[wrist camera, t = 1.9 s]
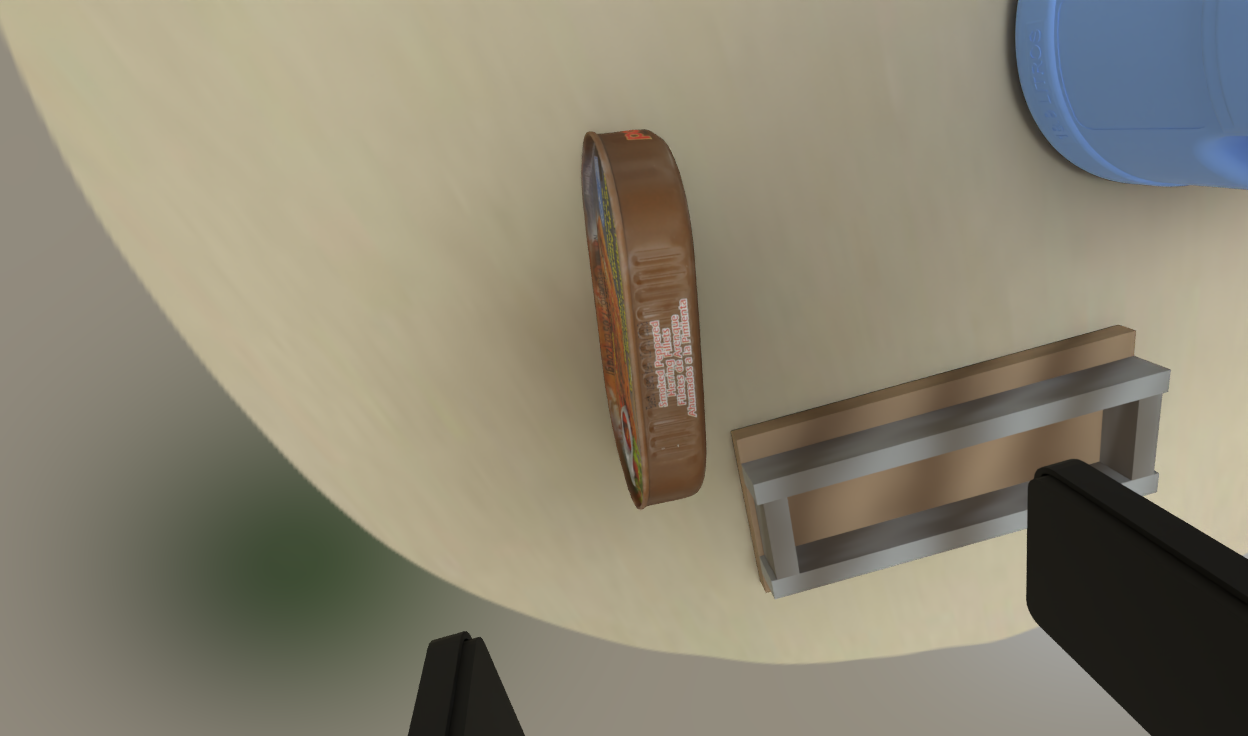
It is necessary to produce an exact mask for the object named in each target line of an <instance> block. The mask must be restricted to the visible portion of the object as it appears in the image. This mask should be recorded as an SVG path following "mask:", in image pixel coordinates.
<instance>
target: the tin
mask: <svg viewBox="0 0 1248 736" xmlns="http://www.w3.org/2000/svg"><path fill="white" fill-rule="evenodd" d="M581 175H582V195H583V207H584V214H585V225H586V235H587V243H588V251H589V259H590V267H591V275H592V283H593V290H594V299H595V307H596V315H597V323H598V331H599V340H600V348H601V356H602V364H603V372H604V380H605V388H606V393H607V398H608V405H609V411H610V417H611V422H612V427H613V432H614V437H615V441H616V445H617V450H618V453H619V458H620V461H621V465H622V469H623V472H624V475H625V479H626V483H627V486H628V490H629V492H630V495H631V498H632V500H633V502H634V503H635V506H636V507H637V509H644V508H645V507H646V506H649V505H654V504H659V503H664V502H669V501H674V500H678V499H682V498H686V497H689V496H692V495H694V494H696V493H697V492H698V491H699V489H700V488H701V486H702V483H703V480H704V476H705V468H706V431H705V410H704V391H703V374H702V358H701V345H700V327H699V312H698V298H697V286H696V271H695V258H694V246H693V237H692V229H691V223H690V216H689V211H688V205H687V200H686V195H685V191H684V187H683V184H682V180H681V176H680V172H679V170H678V167H677V164H676V162H675V159H674V157H673V155H672V153H671V150H670V149H669V147H668V145H667V144H666V143H665V141H664V140H663V139H662V138H660V137H659V136H657V135H656V134H654V133H653V132H651V131H649V130H645V129H644V130H629V131H621V132H614V133H605V134H596V133H595V132H588V133H586V135H585V137H584V142H583V153H582V171H581Z"/></svg>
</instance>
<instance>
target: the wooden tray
mask: <svg viewBox="0 0 1248 736" xmlns="http://www.w3.org/2000/svg"><path fill="white" fill-rule="evenodd" d="M1135 336H1136V331H1135V330H1132V329H1129V328H1126V327H1123V326H1120V325H1117V326H1113V327H1109V328H1106V329H1102V330H1098V331H1095V332H1091V333H1087V334H1084V335H1080V336H1077V337H1073V338H1069V339H1066V340H1062V341H1058V342H1055V343H1051V344H1047V345H1044V346H1040V347H1036V348H1033V349H1029V350H1025V351H1022V352H1018V353H1014V354H1011V355H1007V356H1004V357H1000V358H996V359H993V360H989V361H985V362H982V363H978V364H974V365H971V366H967V367H963V368H960V369H956V370H952V371H949V372H945V373H941V374H938V375H934V376H931V377H927V378H923V379H920V380H916V381H912V382H909V383H905V384H901V385H898V386H894V387H890V388H887V389H883V390H879V391H876V392H872V393H869V394H865V395H861V396H858V397H854V398H850V399H847V400H843V401H839V402H836V403H832V404H828V405H825V406H821V407H817V408H814V409H810V410H806V411H803V412H799V413H796V414H792V415H788V416H785V417H781V418H777V419H774V420H770V421H766V422H763V423H759V424H755V425H752V426H748V427H744V428H741V429H737V430H733V431H731V434H732V439H733V444H734V450H735V455H736V460H737V465H738V470H739V475H740V480H741V485H742V490H743V495H744V500H745V506H746V511H747V516H748V521H749V526H750V531H751V536H752V541H753V546H754V551H755V556H756V562H757V567H758V572H759V577H760V581H761V583H762V585H763V587H764V590H765V592H766V593H767V592H772V594H773V596H774V598H775V599H778V598H781V597H785V596H788V595H792V594H795V593H799V592H803V591H806V590H810V589H813V588H817V587H820V586H824V585H828V584H831V583H835V582H838V581H842V580H845V579H849V578H852V577H856V576H860V575H863V574H867V573H870V572H874V571H877V570H881V569H884V568H888V567H892V566H895V565H899V564H902V563H906V562H909V561H913V560H917V559H920V558H924V557H927V556H931V555H934V554H938V553H941V552H945V551H949V550H952V549H956V548H959V547H963V546H966V545H970V544H974V543H977V542H981V541H984V540H988V539H991V538H995V537H998V536H1002V535H1006V534H1009V533H1013V532H1016V531H1020V530H1023V529H1027V500H1028V483H1029V482H1030V480H1033V479H1034V474H1035V472H1036V471H1037V469H1039V468H1041V467H1044V466H1048V465H1051V464H1055V463H1058V462H1062V461H1065V460H1069V459H1079V460H1081V461H1084V462H1086V463H1087V464H1089V465H1091V466H1092V467H1094V468H1096V469H1097V470H1099V471H1101V472H1102V473H1104V474H1106V475H1107V476H1109V477H1111V478H1112V479H1114V480H1116V481H1117V482H1119V483H1121V484H1122V485H1124V486H1126V487H1127V488H1129V489H1131V490H1133V491H1134V492H1136V493H1138V494H1139V495H1141V496H1145V495H1148V494H1152V493H1155V492H1157V487H1158V478H1159V473H1158V472H1156V471H1154V466H1155V457H1156V448H1157V439H1158V430H1159V420H1160V411H1161V402H1162V393H1165V392H1168V389H1169V380H1170V372H1171V370H1170V369H1168V368H1165V367H1162V366H1160V365H1157V364H1154V363H1152V362H1149V361H1146V360H1144V359H1141V358H1138V357H1136V356H1134V348H1135Z"/></svg>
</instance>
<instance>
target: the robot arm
mask: <svg viewBox="0 0 1248 736" xmlns="http://www.w3.org/2000/svg"><path fill="white" fill-rule="evenodd" d="M1026 601H1027V606H1028V609H1029V612H1030V614H1031V616H1032V617H1033V619H1034V620H1035V622H1036V623H1037V624H1038V625H1039V626H1040V627H1041V628H1042V629H1043V630H1044V631H1045V632H1046V633H1047V634H1048V635H1049V636H1050V637H1051V638H1052V639H1053V640H1054V641H1055V642H1057V644H1058V645H1059V646H1061V647H1062V649H1064V651H1065V652H1067V653H1068V654H1069V655H1070V656H1071V657H1072V658H1073V659H1074V660H1075V661H1076V662H1077V663H1078V664H1079V665H1080V666H1081V667H1082V668H1083V669H1084V670H1085V671H1086V672H1087V673H1088V674H1089V675H1090V676H1091V677H1092V678H1093V679H1094V680H1095V681H1096V682H1097V683H1098V684H1099V685H1100V686H1101V687H1102V688H1103V689H1104V690H1105V691H1106V692H1107V693H1108V694H1109V695H1111V697H1113V699H1115V700H1116V702H1118V704H1120V705H1121V706H1122V707H1123V708H1124V709H1125V710H1126V711H1127V712H1128V713H1129V714H1130V715H1131V716H1132V717H1133V718H1134V719H1135V720H1136V721H1137V722H1138V723H1139V724H1140V725H1141V726H1142V727H1143V728H1144V729H1145V730H1146V731H1147V732H1148V733H1149V734H1150V735H1151V736H1248V559H1247V558H1245V557H1243V556H1242V555H1240V554H1238V553H1236V552H1235V551H1233V550H1231V549H1230V548H1228V547H1226V546H1225V545H1223V544H1221V543H1220V542H1218V541H1216V540H1215V539H1213V538H1211V537H1210V536H1208V535H1206V534H1205V533H1203V532H1201V531H1200V530H1198V529H1196V528H1195V527H1193V526H1191V525H1190V524H1188V523H1186V522H1185V521H1183V520H1181V519H1179V518H1178V517H1176V516H1174V515H1173V514H1171V513H1169V512H1168V511H1166V510H1164V509H1163V508H1161V507H1159V506H1158V505H1156V504H1154V503H1153V502H1151V501H1149V500H1148V499H1146V498H1144V497H1143V496H1141V495H1139V494H1138V493H1136V492H1134V491H1133V490H1131V489H1129V488H1127V487H1126V486H1124V485H1122V484H1121V483H1119V482H1117V481H1116V480H1114V479H1112V478H1111V477H1109V476H1107V475H1106V474H1104V473H1102V472H1101V471H1099V470H1097V469H1096V468H1094V467H1092V466H1091V465H1089V464H1087V463H1086V462H1084V461H1081V460H1079V459H1069V460H1065V461H1062V462H1058V463H1055V464H1051V465H1048V466H1044V467H1041V468H1039V469H1037V471H1036V472H1035V474H1034V479H1033V480H1030V482H1029V483H1028V500H1027V587H1026ZM408 736H525V735H524V733H523V730H522V728H521V726H520V723H519V721H518V719H517V716H516V714H515V712H514V709H513V707H512V705H511V703H510V700H509V698H508V696H507V694H506V691H505V689H504V686H503V684H502V682H501V680H500V677H499V675H498V673H497V670H496V668H495V666H494V663H493V661H492V659H491V657H490V654H489V652H488V650H487V647H486V645H485V643H484V641H483V639H482V638H481V637H477V638H474V639H472V638H471V636H470V634H469V633H468V632H467V631H466V632H465V631H464V632H460V633H457V634H453V635H450V636H446V637H443V638H439V639H436V640H432V641H431V642H430V643H429V646H428V649H427V653H426V658H425V662H424V667H423V671H422V676H421V680H420V684H419V689H418V693H417V698H416V702H415V706H414V711H413V716H412V720H411V724H410V729H409V733H408Z"/></svg>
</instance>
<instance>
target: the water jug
mask: <svg viewBox="0 0 1248 736" xmlns="http://www.w3.org/2000/svg"><path fill="white" fill-rule="evenodd" d="M1015 44H1016V59H1017V67H1018V73H1019V78H1020V83H1021V87H1022V90H1023V94H1024V97H1025V100H1026V103H1027V105H1028V108H1029V110H1030V112H1031V114H1032V116H1033V118H1034V120H1035V122H1036V124H1037V126H1038V127H1039V129H1040V130H1041V132H1042V133H1043V135H1044V136H1045V137H1046V139H1047V140H1048V141H1049V142H1050V144H1051V145H1052V146H1053V147H1054V148H1055V149H1056V150H1057V151H1058V152H1059V153H1060V154H1061V155H1062V156H1064V157H1065V158H1066V159H1067V160H1069V161H1070V162H1071V163H1073V164H1074V165H1076V166H1078V167H1079V168H1081V169H1083V170H1085V171H1087V172H1089V173H1091V174H1093V175H1096V176H1098V177H1101V178H1104V179H1108V180H1111V181H1116V182H1121V183H1129V184H1140V185H1151V186H1166V187H1173V186H1187V185H1197V186H1210V187H1222V188H1235V189H1247V190H1248V0H1018V4H1017V13H1016V29H1015Z"/></svg>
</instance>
